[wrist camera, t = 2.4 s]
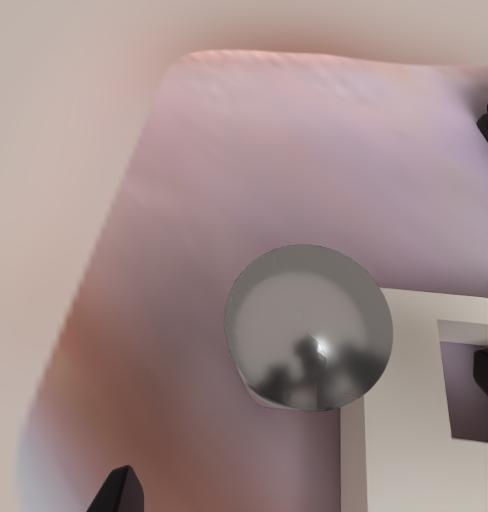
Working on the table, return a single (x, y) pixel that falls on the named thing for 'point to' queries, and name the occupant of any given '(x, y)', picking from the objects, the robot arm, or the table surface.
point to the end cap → (483, 125)
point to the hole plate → (415, 416)
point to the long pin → (307, 329)
